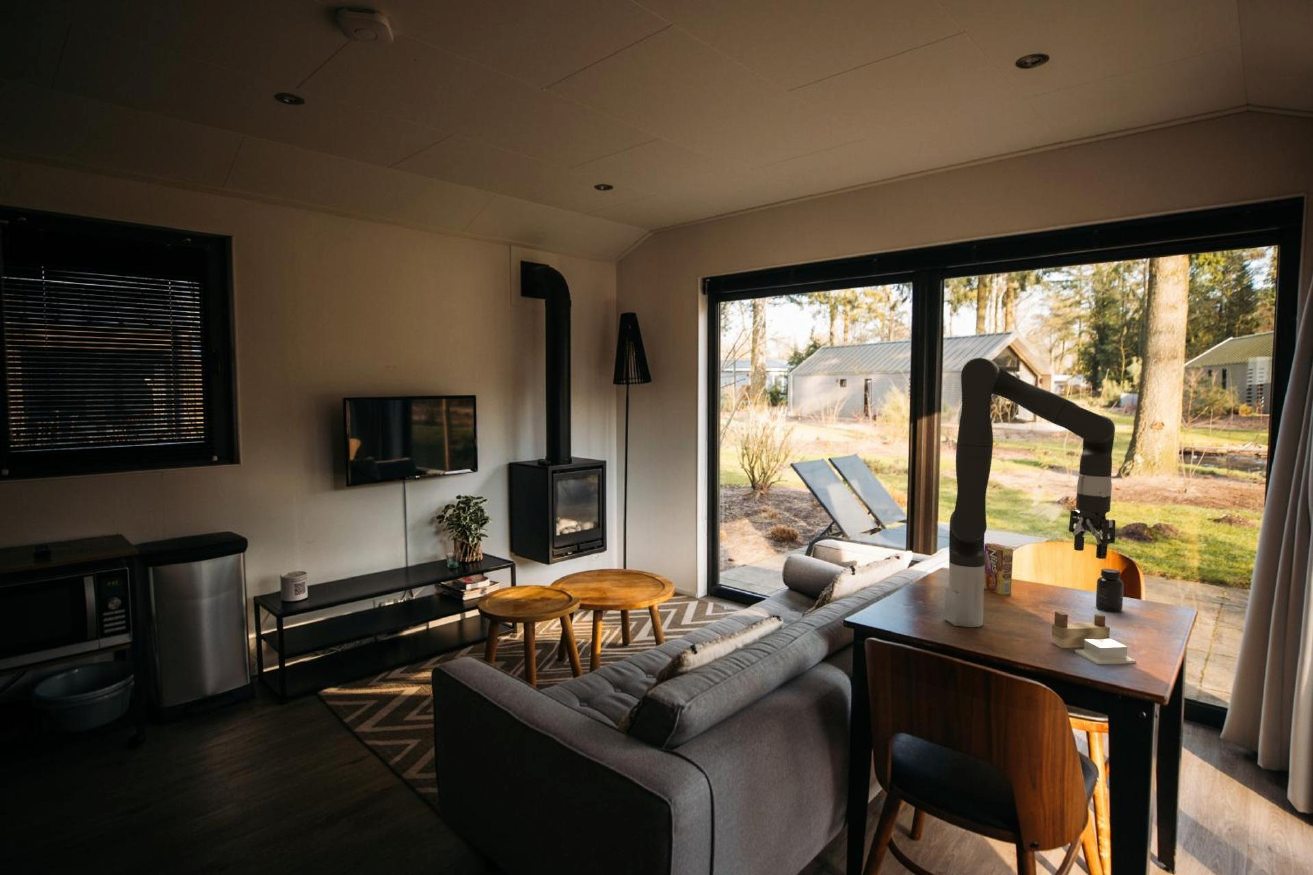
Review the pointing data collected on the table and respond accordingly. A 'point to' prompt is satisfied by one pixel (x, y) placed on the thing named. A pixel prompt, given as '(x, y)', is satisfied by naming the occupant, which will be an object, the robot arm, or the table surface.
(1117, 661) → the mat
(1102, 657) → the lever cap
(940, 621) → the table surface
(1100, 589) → the supplement bottle
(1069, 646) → the body
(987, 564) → the candy box
